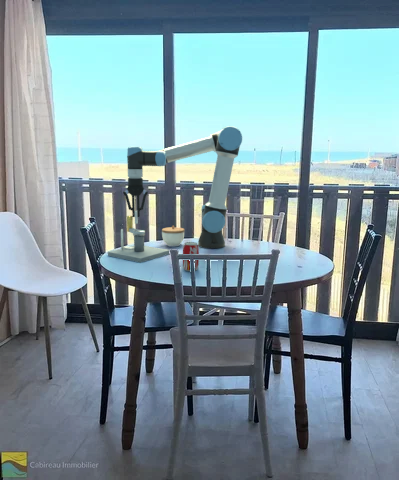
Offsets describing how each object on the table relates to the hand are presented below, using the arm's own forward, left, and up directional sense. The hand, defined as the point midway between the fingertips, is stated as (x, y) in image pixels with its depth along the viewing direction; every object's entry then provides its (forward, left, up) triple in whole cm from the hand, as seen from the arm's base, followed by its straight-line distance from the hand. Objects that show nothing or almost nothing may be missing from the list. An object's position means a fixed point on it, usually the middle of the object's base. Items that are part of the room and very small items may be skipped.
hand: (136, 223), depth 215 cm
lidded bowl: (-7, -22, -15) cm, 28 cm away
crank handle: (-4, +5, -4) cm, 7 cm away
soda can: (-45, +14, -15) cm, 49 cm away
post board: (-8, +7, -15) cm, 18 cm away
